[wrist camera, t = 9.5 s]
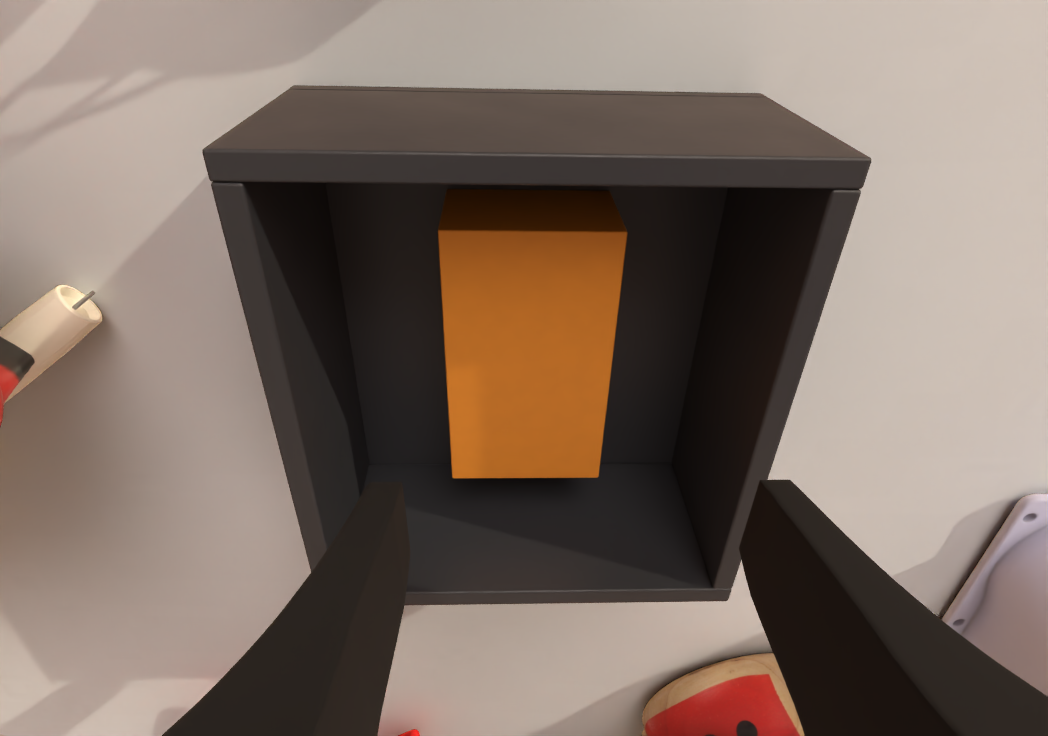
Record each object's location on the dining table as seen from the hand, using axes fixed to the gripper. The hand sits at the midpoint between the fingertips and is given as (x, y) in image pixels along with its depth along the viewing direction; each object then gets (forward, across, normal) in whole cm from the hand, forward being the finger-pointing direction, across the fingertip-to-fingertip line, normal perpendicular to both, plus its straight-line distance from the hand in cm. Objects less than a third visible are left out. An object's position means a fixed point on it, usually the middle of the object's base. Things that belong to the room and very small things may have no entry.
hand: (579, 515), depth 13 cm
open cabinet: (+9, +1, 0) cm, 9 cm away
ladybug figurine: (+9, -10, +22) cm, 26 cm away
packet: (+8, +1, 0) cm, 8 cm away
